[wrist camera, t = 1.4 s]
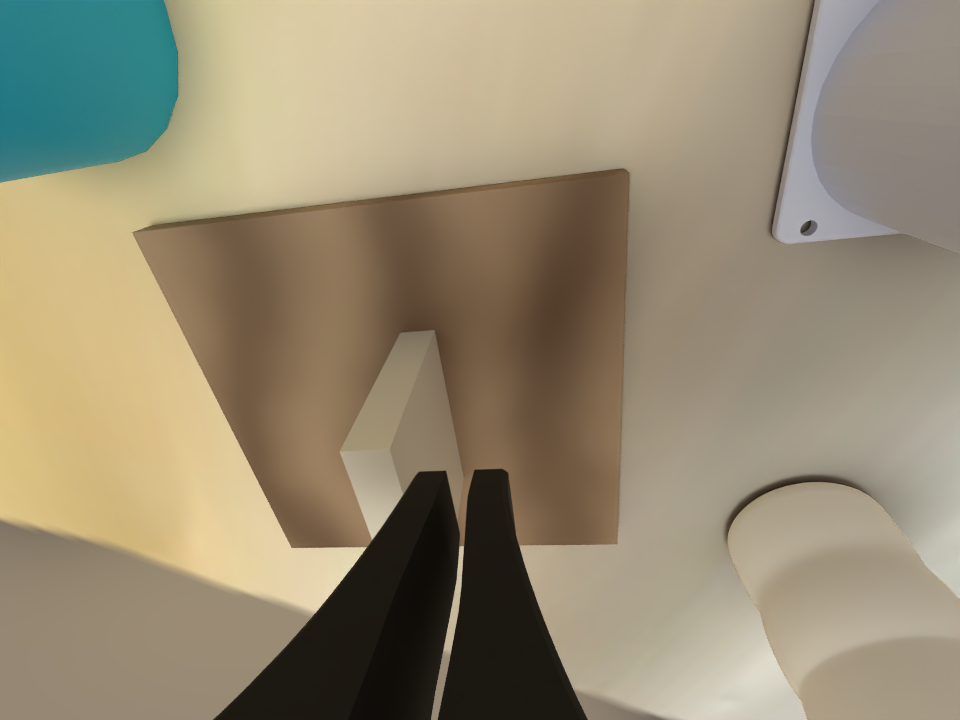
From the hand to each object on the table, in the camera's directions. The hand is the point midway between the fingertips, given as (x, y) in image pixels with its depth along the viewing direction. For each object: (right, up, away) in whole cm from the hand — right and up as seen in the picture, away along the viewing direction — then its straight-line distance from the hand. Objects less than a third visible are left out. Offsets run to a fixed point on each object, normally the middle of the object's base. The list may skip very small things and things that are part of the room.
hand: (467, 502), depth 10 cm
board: (-3, +1, +11) cm, 11 cm away
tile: (-2, +1, +10) cm, 10 cm away
